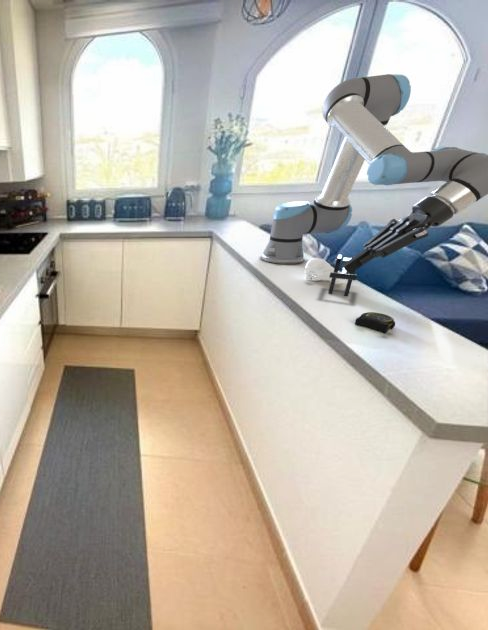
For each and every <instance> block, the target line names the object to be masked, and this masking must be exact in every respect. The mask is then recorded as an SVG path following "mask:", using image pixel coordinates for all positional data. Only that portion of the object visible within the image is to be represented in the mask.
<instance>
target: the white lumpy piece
mask: <svg viewBox="0 0 488 630" xmlns="http://www.w3.org/2000/svg"><path fill="white" fill-rule="evenodd" d="M334 268H335V267H333V266H332V265H331V264H330V263H329V262H327V261H326V260H325V259H323V258H320V257H311V258H310V259H309V260H308V261H307V262H306V264H305V266H304V278H305V280H306V281H309V282H311V281H313V282H317V281H328V282H331V280H332V278H329V276H330V273H331V272H334ZM338 273H341V271H338ZM345 281H346V279H338V278H336V281H335V285H337V284H344V283H345Z"/></svg>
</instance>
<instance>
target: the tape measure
mask: <svg viewBox="0 0 488 630" xmlns="http://www.w3.org/2000/svg"><path fill="white" fill-rule="evenodd" d="M354 325H355V326H358V327H362V328H365V329H369V330H371V331H375V332H379V333H382V334H387V333H388V331H390V330H392V329H394V328H395V326H396V322H395V319H394V317H392V316H390V315H388V314H386V313H382V312H374V311H367V312H363V313H361V315H360V316H358V317H357V318H356V319H355V320H354Z"/></svg>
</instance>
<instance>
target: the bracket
mask: <svg viewBox="0 0 488 630" xmlns="http://www.w3.org/2000/svg"><path fill="white" fill-rule="evenodd" d="M336 257H337V258H336V259H334V262H333V265H334V267H333V268H334V273H338V272H339V269H340V267H341V263H342V259H343V254H338V255H337V256H336ZM355 273H356V270H355V271H353V272H352V273H349V274H352V275H355ZM335 281H336V278H332V280H331V281H330V284H329V288H328V292H327V294H329V295H333V293H334V288H335V285H336V284H335ZM352 283H353V280H347V282H346V285H345V289H344V293H343V297H349V295H350V290H351V287H352Z"/></svg>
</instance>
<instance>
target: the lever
mask: <svg viewBox="0 0 488 630" xmlns="http://www.w3.org/2000/svg"><path fill="white" fill-rule="evenodd" d="M352 258H353V257H342V259H341V263H340V269H341V271H340V273H334V272H331V273H330V276H329V278H338V279H345V281H346V280H347V281H348V280H352V281H356V280H357V277H358V275H357V274H354V275H352V274H350V273H348V272H347V271H346V270H345V269H344V268H343V267H342V265H343V264H344V263H346V262H347V261H349V260H350V259H352Z"/></svg>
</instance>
